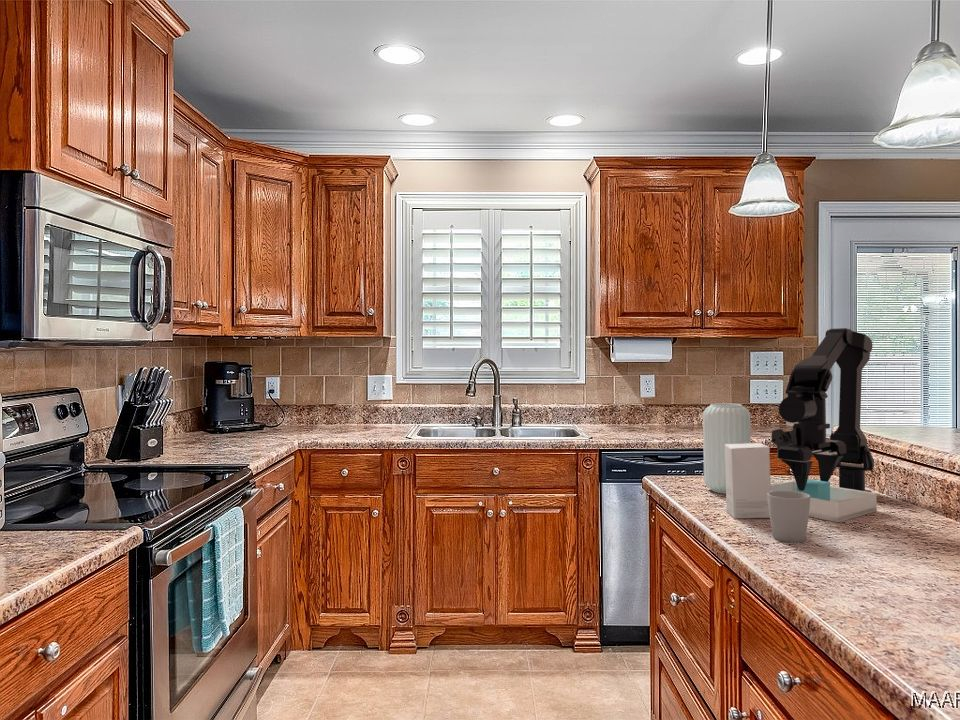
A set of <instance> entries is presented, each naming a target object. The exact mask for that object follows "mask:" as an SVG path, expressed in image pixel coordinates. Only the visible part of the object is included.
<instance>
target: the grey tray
mask: <svg viewBox="0 0 960 720" xmlns="http://www.w3.org/2000/svg"><path fill="white" fill-rule="evenodd" d="M771 491H796V492H797V484H796V481H795V479H793V480H791V479H790V480H787V481H781V482H777V483H772V484H771ZM877 509H878V508H877V492H873V491H872V492H866V491H859V490H853V489H846V488H840V487H839V486H831V485H830V501H828V500H823V499H817V498H811V497H810V507H809V518H813V517H814V518H815V519H818V518H819V519H820V520H825V521H830V522H835V523H840V522H841V523H842V522H844V521H848V520H851V519H854V518H858V517H861V516H864V515H868V514H871V513H875V512H877ZM819 519H818V520H819Z"/></svg>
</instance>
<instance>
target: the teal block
mask: <svg viewBox="0 0 960 720" xmlns="http://www.w3.org/2000/svg"><path fill="white" fill-rule="evenodd" d="M830 486H831V482H830V481H828V482H825V481H820V480H818V479H810V478H808V480H807V483H806V487H805V489H804V491H801V490H799V489H798V486H797V492H802V493H806V494H809V495H810V497H811V498H817V499H823V500H828V501H830Z"/></svg>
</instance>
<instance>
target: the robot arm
mask: <svg viewBox="0 0 960 720" xmlns="http://www.w3.org/2000/svg"><path fill="white" fill-rule="evenodd" d="M824 336H825V337H824V338H823V339H822V340H821V342H820V343H819V344H818V346H817V347H816V349H815V350H814V352H813V353H812V355H811V356H810V357H807V358H804V359H802V360H800V361H798V363H797V364H796V365H795V366H794V367H793V369H792V371H791V373H790V376H789V379H788V383H787V386H786V388H785V394H786V395H787V397H785V398H783V399H782V400H781V401H780V403H779V405H778V411H779V415H780V417H781V419H782V420H784V421H785V422H787V423H790V424H791V423H792V424H793V425H792V430H786V431H784V430H783V429H782V428H778V429H773V430H771V436H770V437H771V439H770V442H771V443H773V444H774V445H776V448H777V449H776V451H777V452H776V455H777V456H776V458H777V459H779V460H780V461H781V462H782V463H785V464H786V465H788V466H789V468H790V470H791V472H792V475H793V477H794V481H796V484H797V486H798V489H799V490H801V491H804V489H805V487H806V483H807V480H808V479H809V476H810V472H811V469H812V466H813V460H811V459H812V457H814V458H815V459H816V461H817V463H818V473H819V474H818V475H819V481H825V482H830V480H831V477H832V475H833V473H834V472H835V469H836V468H838V487H840V488H846V489H853V490H859V491H866V492H872V493H873V491H872V490H871V489H870V490H869V489H866V472H868V471H874V470H875V469H874V467H875V459H874V457H873V454H872V452H871V450H870V448H869V446H868V439H867V437H866V436H865V434H864V432H863V430H862V429H861V412H862V411H861V409H862V406H861V405H862V377H863V374H862V373H863V369H864V368H865V366H866V365H867V364H868V362H869V361H870V359H871V358H870V356H871V353H872V351H873V341H872V338H870V337H869V336H868V335H867V334H866V333H861V332H859V331H853V330H852V329H850V328H847V327H845V328H844V327H841V328H839V327H837V328H829V329H827V330H826V331H825V335H824ZM835 363H836V365H837V366H838V368H839V369H840V370H839V371H840V374H839V403H838V407H839V408H838V427H837V428H836V430H835V431H834V432H831V434H830V436H829V439H827V430H828V429H831V424H830V423H827V413H826V411H827V410H826V407H827V406H826V405H827V404H826V403H827V401H826V399H827V398H829V397H828V396H829V395H828V394H827V393H826V392H828V390H829V387H830V385H831V382H832V380H833V374H832V371H831V370H832V368H833V366H834V365H835Z"/></svg>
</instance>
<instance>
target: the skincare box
mask: <svg viewBox="0 0 960 720" xmlns="http://www.w3.org/2000/svg"><path fill="white" fill-rule="evenodd" d="M770 450H771V448H770V446H768V445H765V444H763V443H761V442H755V443H753V442H751V443H747V444H725V470H726V494H725V495H726V497H725V498H726V513H727V514H728V515H730V516H731V517H732V518H733V519H734V520H736V519H770V514H769V506H768V498H767V493H768V492H771V458H770V457H771V456H770V453H771V451H770Z"/></svg>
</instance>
